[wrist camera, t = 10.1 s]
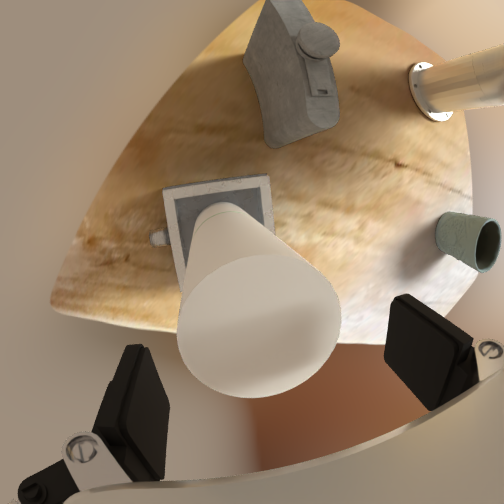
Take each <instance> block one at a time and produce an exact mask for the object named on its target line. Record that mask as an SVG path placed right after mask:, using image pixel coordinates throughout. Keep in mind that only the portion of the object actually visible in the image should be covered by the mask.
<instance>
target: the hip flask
mask: <svg viewBox="0 0 504 504" xmlns="http://www.w3.org/2000/svg"><path fill="white" fill-rule="evenodd" d="M339 41H340V40H339V38H338V36H337V34H336V33H335V32H334V30H332V29H331V28H330V27H328V26H327V25H325V24H322V23H318V22H315V21H314V20H313V18H312V16H311V14H310V12H309V11H308V9H307V8H306V6H305V5H304V3H303V2H302V0H266V1H265V4H264V6H263V8H262V11H261V13H260V16H259V18H258V21H257V23H256V26H255V28H254V31H253V33H252V36H251V39H250V41H249V44H248V47H247V49H246V52H245V55H244V57H243V64H244V65H245V67H246V69H247V71H248V73H249V75H250V77H251V79H252V82H253V84H254V87H255V90H256V93H257V97H258V100H259V104H260V109H261V113H262V120H263V128H264V140H265V143H266V144H267V145H268V146H269V147H271V148H280V147H282V146H285V145H287V144H290V143H292V142H295V141H297V140H300V139H302V138H305V137H308V136H310V135H313V134H316V133H318V132H321V131H324V130H326V129H329V128H332V127H334V126H335V125H336V124H337V123H338V121H339V117H340V111H339V100H338V92H337V87H336V81H335V77H334V72H333V68H332V65H331V61H330V58H329V57H331V56H333V54H335V53H336V52H337V51H338V50H339V47H340V42H339Z"/></svg>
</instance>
